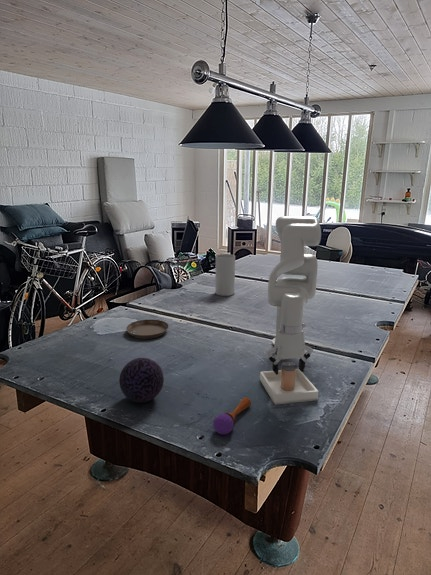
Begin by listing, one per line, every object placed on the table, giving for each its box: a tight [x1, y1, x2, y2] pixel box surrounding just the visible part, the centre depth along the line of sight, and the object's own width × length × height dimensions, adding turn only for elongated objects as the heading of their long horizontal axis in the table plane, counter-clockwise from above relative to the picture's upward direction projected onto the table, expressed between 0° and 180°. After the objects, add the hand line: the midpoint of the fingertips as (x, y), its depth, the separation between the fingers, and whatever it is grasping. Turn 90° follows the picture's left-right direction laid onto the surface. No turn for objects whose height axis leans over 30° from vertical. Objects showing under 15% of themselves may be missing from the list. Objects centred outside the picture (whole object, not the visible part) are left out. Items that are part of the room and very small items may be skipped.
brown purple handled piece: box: [213, 396, 252, 436], centre depth 131 cm, size 6×6×20 cm
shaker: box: [281, 361, 297, 391], centre depth 149 cm, size 5×5×9 cm
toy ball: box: [118, 357, 165, 403], centre depth 142 cm, size 15×15×15 cm
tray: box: [259, 367, 319, 406], centre depth 150 cm, size 18×16×4 cm
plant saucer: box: [125, 318, 170, 340], centre depth 204 cm, size 21×21×3 cm
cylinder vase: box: [214, 253, 236, 297], centre depth 267 cm, size 12×12×25 cm
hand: (288, 371), depth 149 cm, fingers open, 9 cm apart
